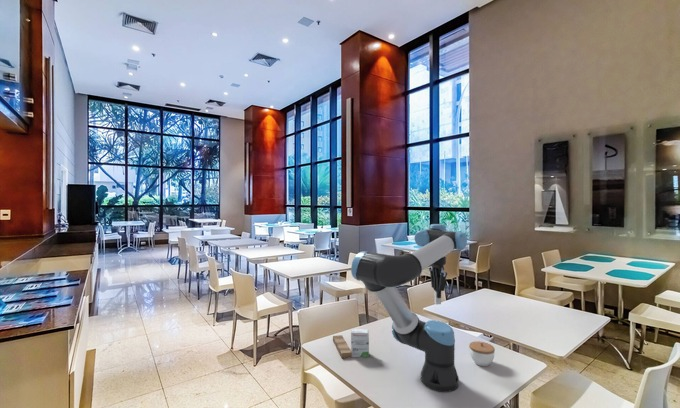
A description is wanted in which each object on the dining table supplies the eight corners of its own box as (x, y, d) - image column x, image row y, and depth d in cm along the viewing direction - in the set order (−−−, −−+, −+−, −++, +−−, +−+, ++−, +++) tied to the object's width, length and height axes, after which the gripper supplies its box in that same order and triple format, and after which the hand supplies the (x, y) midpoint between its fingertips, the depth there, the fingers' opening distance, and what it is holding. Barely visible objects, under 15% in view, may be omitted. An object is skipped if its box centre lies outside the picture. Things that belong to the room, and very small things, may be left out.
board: (351, 357, 153) (351, 352, 153) (341, 358, 152) (341, 353, 152) (341, 339, 173) (341, 335, 173) (332, 340, 172) (332, 336, 172)
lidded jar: (497, 370, 141) (497, 349, 141) (471, 367, 144) (471, 346, 144) (491, 358, 152) (491, 339, 152) (467, 356, 154) (467, 336, 154)
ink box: (369, 352, 158) (368, 328, 158) (368, 357, 153) (368, 333, 153) (351, 352, 159) (351, 328, 159) (350, 356, 154) (350, 332, 154)
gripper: (452, 257, 151) (452, 307, 151) (437, 253, 164) (437, 299, 164) (437, 258, 149) (437, 308, 150) (424, 253, 162) (424, 300, 162)
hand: (437, 303), depth 157 cm, fingers closed
